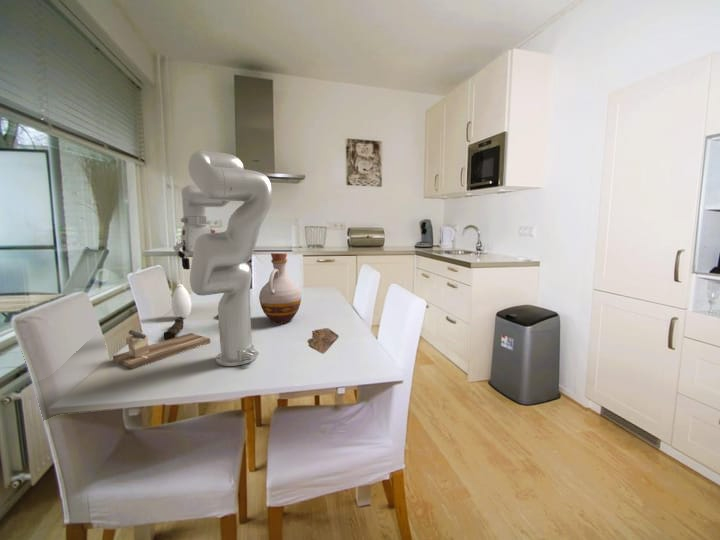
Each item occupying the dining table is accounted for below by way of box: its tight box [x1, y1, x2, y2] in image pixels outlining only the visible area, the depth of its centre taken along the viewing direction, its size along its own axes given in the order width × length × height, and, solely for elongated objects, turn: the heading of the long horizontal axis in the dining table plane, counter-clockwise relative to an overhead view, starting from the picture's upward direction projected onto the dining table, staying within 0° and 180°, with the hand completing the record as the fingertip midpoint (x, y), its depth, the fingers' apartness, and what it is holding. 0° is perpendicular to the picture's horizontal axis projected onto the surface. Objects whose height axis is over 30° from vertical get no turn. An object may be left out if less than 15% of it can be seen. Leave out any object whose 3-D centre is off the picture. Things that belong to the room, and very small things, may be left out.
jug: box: [258, 252, 302, 325], centre depth 146 cm, size 20×18×30 cm
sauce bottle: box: [171, 278, 192, 319], centre depth 152 cm, size 8×8×18 cm
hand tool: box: [163, 316, 185, 341], centre depth 134 cm, size 19×4×5 cm, turn 12°
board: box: [112, 332, 211, 370], centre depth 116 cm, size 12×26×2 cm, turn 148°
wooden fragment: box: [307, 327, 339, 355], centre depth 126 cm, size 26×11×1 cm, turn 0°
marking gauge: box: [127, 329, 149, 358], centre depth 108 cm, size 8×4×7 cm, turn 57°
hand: (198, 267), depth 128 cm, fingers open, 9 cm apart
